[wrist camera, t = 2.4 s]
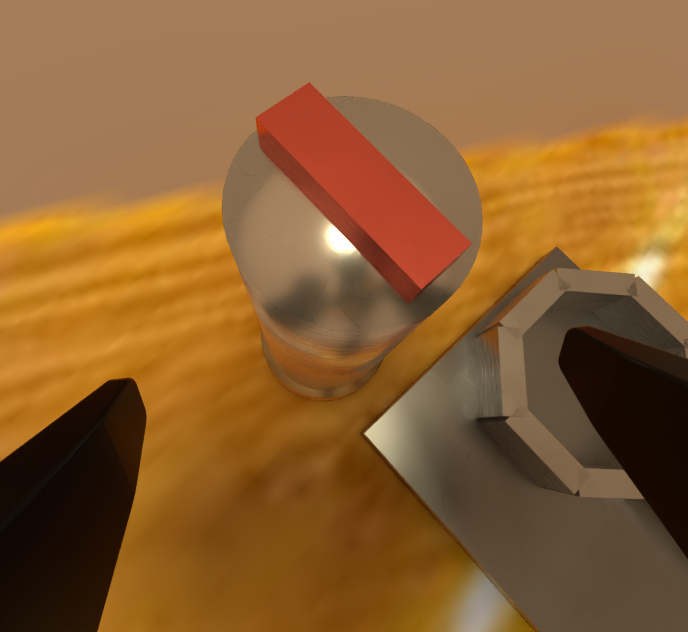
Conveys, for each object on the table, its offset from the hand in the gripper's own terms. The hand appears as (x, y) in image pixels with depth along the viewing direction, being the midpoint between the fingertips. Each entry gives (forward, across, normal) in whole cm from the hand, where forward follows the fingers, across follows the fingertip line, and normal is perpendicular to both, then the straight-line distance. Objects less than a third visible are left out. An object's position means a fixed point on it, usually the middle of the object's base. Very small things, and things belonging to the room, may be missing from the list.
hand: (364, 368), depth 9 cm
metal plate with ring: (+3, -13, +12) cm, 18 cm away
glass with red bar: (+10, 0, +6) cm, 11 cm away
